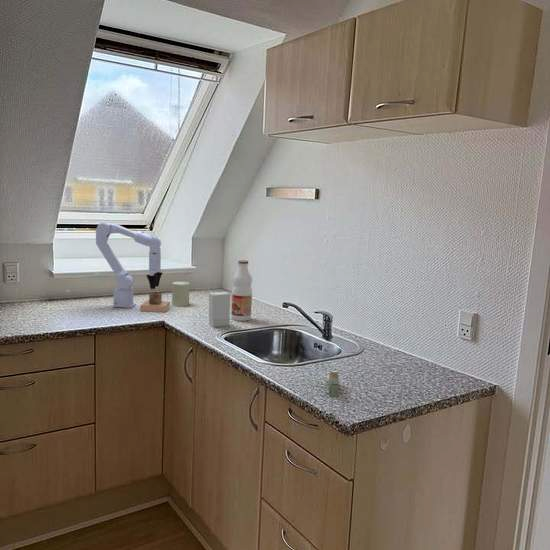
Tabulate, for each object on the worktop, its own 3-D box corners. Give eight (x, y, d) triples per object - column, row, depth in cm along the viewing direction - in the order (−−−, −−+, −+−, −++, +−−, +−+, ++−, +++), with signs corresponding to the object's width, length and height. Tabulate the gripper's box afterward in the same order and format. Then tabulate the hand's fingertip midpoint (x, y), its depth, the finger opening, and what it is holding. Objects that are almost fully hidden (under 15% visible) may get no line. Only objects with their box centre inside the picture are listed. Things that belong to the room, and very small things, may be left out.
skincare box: (225, 323, 239) (226, 291, 237) (230, 326, 234) (231, 293, 232) (207, 324, 236) (208, 292, 234) (212, 327, 230) (213, 294, 228)
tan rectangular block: (140, 311, 256) (140, 305, 255) (146, 306, 268) (146, 300, 267) (164, 312, 256) (164, 306, 255) (169, 307, 268) (169, 301, 267)
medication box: (338, 397, 155) (339, 384, 155) (329, 397, 155) (330, 384, 155) (336, 384, 167) (337, 371, 166) (328, 383, 167) (329, 371, 167)
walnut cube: (149, 304, 259) (149, 294, 258) (151, 302, 264) (151, 292, 263) (159, 304, 259) (159, 294, 258) (161, 302, 263) (161, 292, 263)
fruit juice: (252, 321, 245) (254, 262, 241) (232, 321, 243) (234, 261, 239) (249, 316, 254) (251, 259, 250) (230, 316, 253) (232, 259, 248)
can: (187, 306, 271) (188, 284, 269) (170, 305, 271) (170, 283, 269) (190, 303, 280) (191, 281, 278) (173, 302, 280) (174, 280, 278)
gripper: (159, 263, 257) (159, 290, 259) (165, 259, 271) (165, 285, 273) (145, 262, 257) (144, 289, 259) (152, 259, 271) (152, 284, 273)
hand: (154, 287), depth 266 cm, fingers open, 7 cm apart
